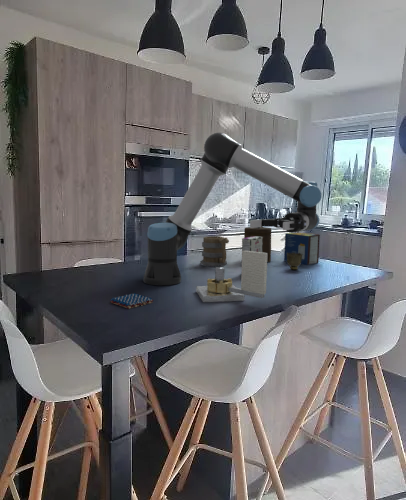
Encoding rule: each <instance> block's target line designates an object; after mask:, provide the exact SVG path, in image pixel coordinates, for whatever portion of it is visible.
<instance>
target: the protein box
mask: <svg viewBox="0 0 406 500" xmlns="http://www.w3.org/2000/svg"><path fill="white" fill-rule="evenodd" d="M284 235H285V237H284V253H283V254H284V255H283V261H284V262H287V253H292V252H293V253H295V254H296V253H300V254H301V255H302V254H303V255H302V260H301V264H300V265H306V266H309V265H315V264H318V263H319V256H320V238H321V237H320V236H321V234H320V233H317V234H316V233H308V232H299V233H297V232H293V233H290V232H286V233H284Z"/></svg>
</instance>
